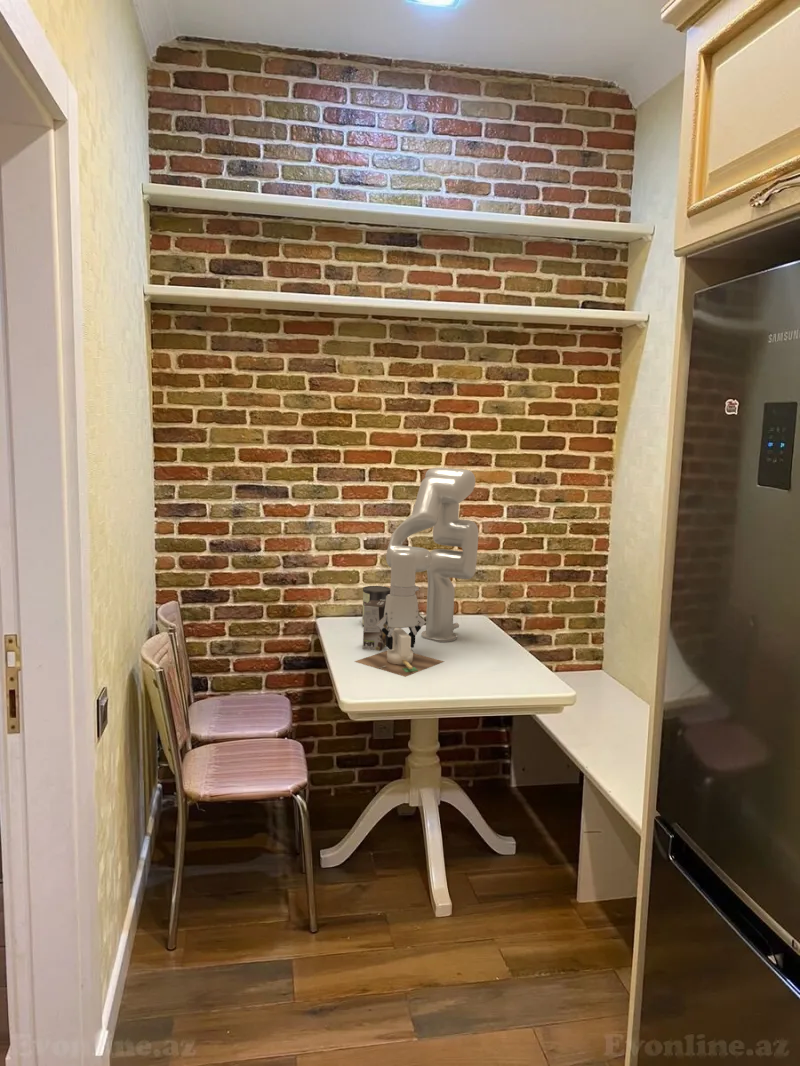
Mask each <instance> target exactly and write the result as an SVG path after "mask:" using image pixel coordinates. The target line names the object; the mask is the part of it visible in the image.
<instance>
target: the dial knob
mask: <svg viewBox="0 0 800 1066" xmlns="http://www.w3.org/2000/svg"><path fill="white" fill-rule="evenodd" d="M408 634H409V633H408V632H406V631H405V630H404V629H403V628H395V629H394V631H393V633H392V637H393V649H392V650H390V649H389V648H387V650H386V651H387V661H388V662H389V663H392V664H398V665H406V666H407V667H408V668H409V669H413V667H412V666H411V665H410V663H412V662H413V653H414V651H413V649H411V637H410V636H409V635H408Z"/></svg>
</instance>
